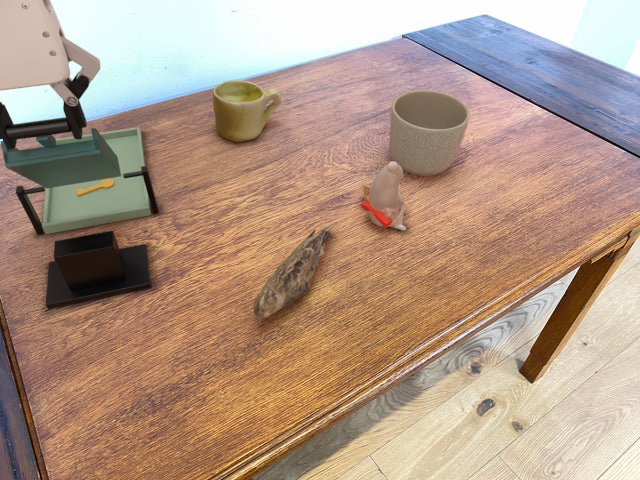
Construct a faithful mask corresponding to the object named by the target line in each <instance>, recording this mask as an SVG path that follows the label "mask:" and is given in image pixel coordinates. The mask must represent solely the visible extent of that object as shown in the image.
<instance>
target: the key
mask: <svg viewBox="0 0 640 480" xmlns="http://www.w3.org/2000/svg"><path fill="white" fill-rule="evenodd" d="M114 184H115V183H114V180H113V179H104V180H102V181H101V182H100V184H97V185H94V186H92V187H89V188H86V189H82V188H79V189H77V190H76V193H77V195H78V197H80V196H82V195H85V194H88V193H90V192H93V191H96V190H99V189H101V188H104V189H108V188H111V187H113V186H114Z"/></svg>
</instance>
